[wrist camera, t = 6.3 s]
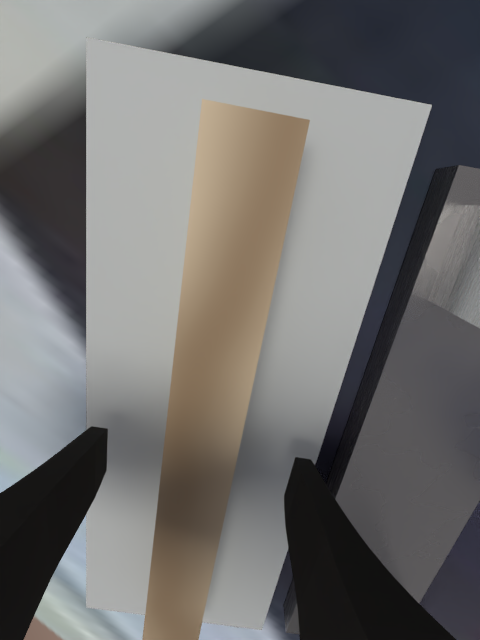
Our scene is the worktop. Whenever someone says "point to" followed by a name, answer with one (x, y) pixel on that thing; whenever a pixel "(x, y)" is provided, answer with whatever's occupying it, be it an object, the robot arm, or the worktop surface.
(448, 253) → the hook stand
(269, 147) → the rail
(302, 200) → the mat
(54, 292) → the worktop surface
